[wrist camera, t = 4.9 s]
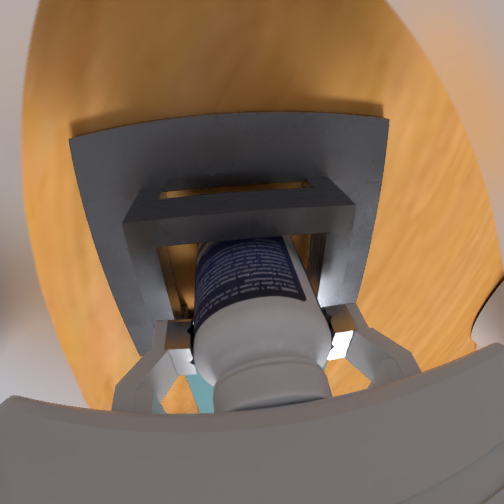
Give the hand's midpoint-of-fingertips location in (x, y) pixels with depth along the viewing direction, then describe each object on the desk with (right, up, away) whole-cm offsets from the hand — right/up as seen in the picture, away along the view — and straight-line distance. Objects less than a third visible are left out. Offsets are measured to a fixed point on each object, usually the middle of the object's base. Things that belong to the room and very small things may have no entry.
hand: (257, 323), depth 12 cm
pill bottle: (-1, +3, +4) cm, 5 cm away
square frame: (-1, +3, +5) cm, 6 cm away
